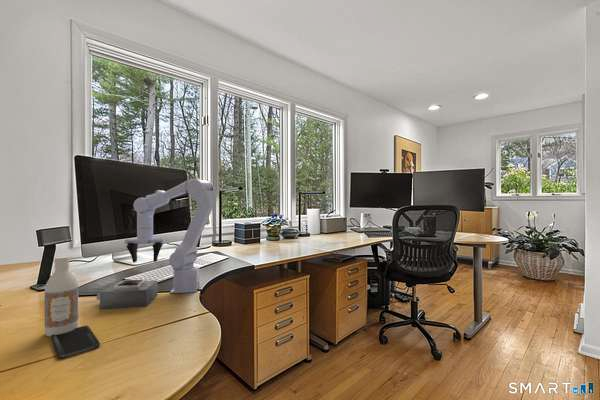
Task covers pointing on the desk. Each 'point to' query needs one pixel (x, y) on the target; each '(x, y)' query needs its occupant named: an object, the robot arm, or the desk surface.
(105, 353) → the desk surface
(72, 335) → the phone
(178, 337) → the desk surface
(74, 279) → the bath foam
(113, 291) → the grey box with opening
